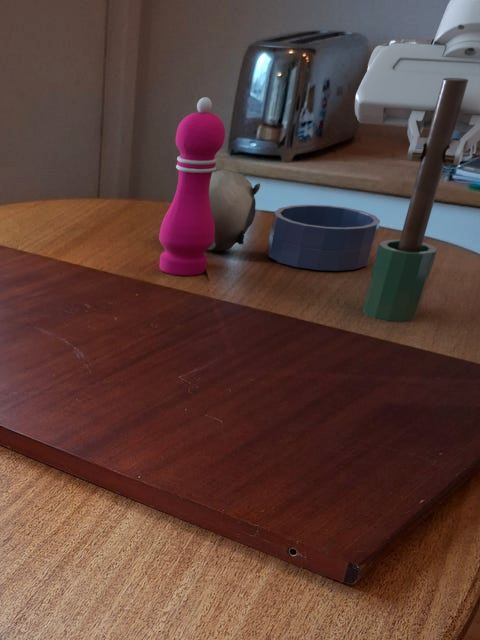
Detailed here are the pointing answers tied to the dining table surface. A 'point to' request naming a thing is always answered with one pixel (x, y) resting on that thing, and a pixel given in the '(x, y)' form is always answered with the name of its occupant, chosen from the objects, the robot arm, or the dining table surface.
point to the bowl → (322, 237)
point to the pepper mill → (192, 194)
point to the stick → (432, 163)
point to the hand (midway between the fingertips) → (432, 159)
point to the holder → (398, 282)
